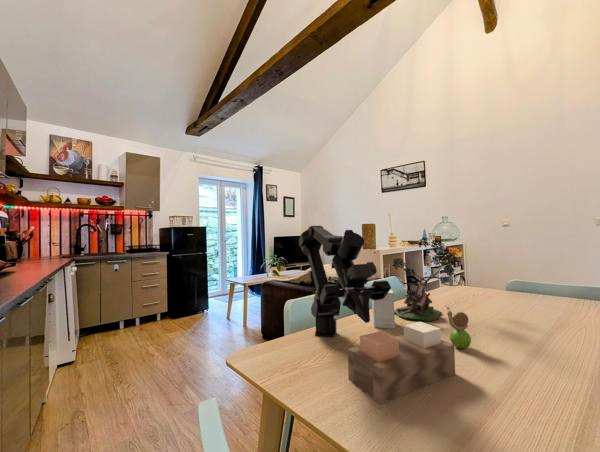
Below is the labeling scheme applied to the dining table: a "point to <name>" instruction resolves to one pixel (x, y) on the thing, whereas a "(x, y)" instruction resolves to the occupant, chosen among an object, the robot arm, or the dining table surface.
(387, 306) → the supplement box
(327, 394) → the dining table surface
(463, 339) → the snail figurine
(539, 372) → the dining table surface
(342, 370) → the dining table surface
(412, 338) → the white box
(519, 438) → the dining table surface
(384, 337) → the salmon pink block
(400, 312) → the bonsai tree
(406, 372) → the brown striped box
